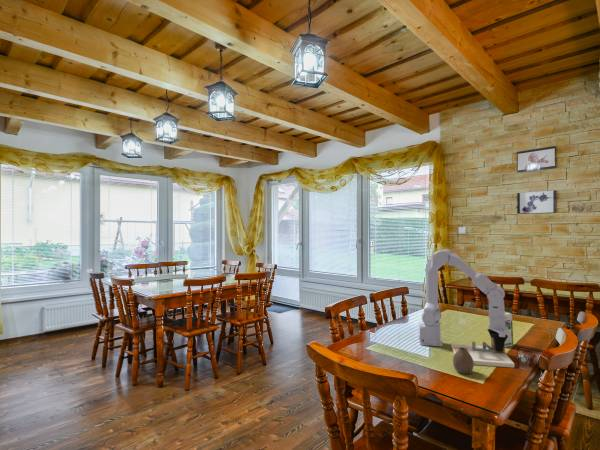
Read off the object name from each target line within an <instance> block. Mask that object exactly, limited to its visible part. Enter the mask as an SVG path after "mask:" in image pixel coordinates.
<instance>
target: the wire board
mask: <svg viewBox="0 0 600 450" xmlns="http://www.w3.org/2000/svg"><path fill="white" fill-rule="evenodd" d="M450 345H451V346H450V347H451V350H452V352H453V354H454V355H455V353H456V352H457V351H458V350H459V348H460V347H463V348H466V349H467V351H468V353H469V354H470V355H471V357H472V359H473V363H474V365H476V366H489V367H500V368H501V367H504V368H511V369H512V368H515V362H513V360H512V359H511V358H510V357H509V355H508V354H507V353H506V352H505V353H494V352H483V351H473V350H472V344H458V343H457V344H456V343H454V344H453V343H451V344H450ZM475 347H476V348H479V349H483V345H475ZM486 349H488V348H487V347H486ZM454 355H453V356H454Z"/></svg>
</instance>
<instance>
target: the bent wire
mask: <svg viewBox="0 0 600 450" xmlns="http://www.w3.org/2000/svg"><path fill="white" fill-rule="evenodd" d="M471 345H472V350H473V351H483V352H495V350H494V349H493V348H492V347H491V345H489V344H488V343H487V342H486V341H485V342H482V346H483V349H479V348H476V347H475V346H476V342H475V341H471ZM486 347H487V348H488V349H486Z"/></svg>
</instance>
